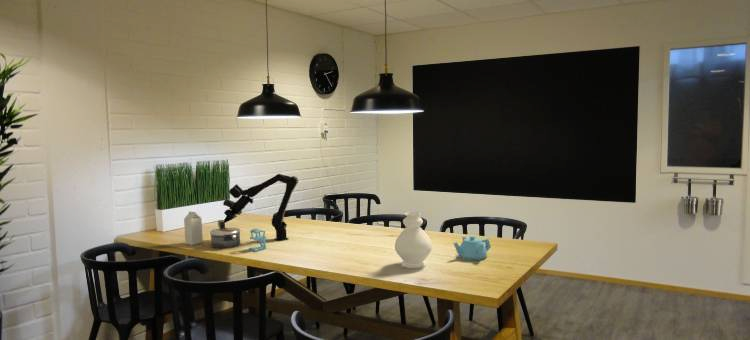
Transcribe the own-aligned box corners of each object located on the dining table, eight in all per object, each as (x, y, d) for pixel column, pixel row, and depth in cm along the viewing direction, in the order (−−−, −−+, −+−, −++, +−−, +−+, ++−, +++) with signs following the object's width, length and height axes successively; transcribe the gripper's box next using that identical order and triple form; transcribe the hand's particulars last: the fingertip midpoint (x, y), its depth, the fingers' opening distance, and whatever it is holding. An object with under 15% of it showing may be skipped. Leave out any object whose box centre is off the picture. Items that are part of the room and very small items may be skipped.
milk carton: (192, 245, 309) (190, 213, 307) (185, 243, 313) (183, 212, 312) (202, 243, 315) (201, 211, 313) (195, 241, 319) (194, 210, 317)
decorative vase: (440, 265, 252) (439, 213, 250) (411, 271, 242) (410, 217, 240) (416, 257, 267) (415, 208, 264) (387, 264, 256) (386, 213, 254)
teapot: (482, 262, 254) (482, 240, 253) (453, 259, 261) (452, 238, 260) (491, 255, 268) (491, 234, 267) (463, 252, 275) (462, 232, 274)
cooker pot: (243, 247, 300) (242, 235, 299) (214, 251, 293) (213, 238, 293) (235, 238, 323) (235, 227, 323) (208, 242, 317) (207, 230, 316)
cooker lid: (243, 233, 302) (242, 225, 301) (213, 237, 295) (212, 228, 294) (234, 227, 323) (234, 218, 322) (206, 230, 315) (205, 221, 315)
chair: (268, 249, 294) (268, 228, 293) (255, 252, 288) (255, 230, 287) (261, 247, 299) (260, 226, 298) (248, 250, 294) (247, 228, 293)
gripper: (235, 192, 325) (218, 210, 327) (226, 196, 307) (208, 216, 308) (249, 204, 326) (232, 223, 327) (240, 209, 307) (223, 229, 309)
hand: (223, 222), depth 318 cm, fingers closed
